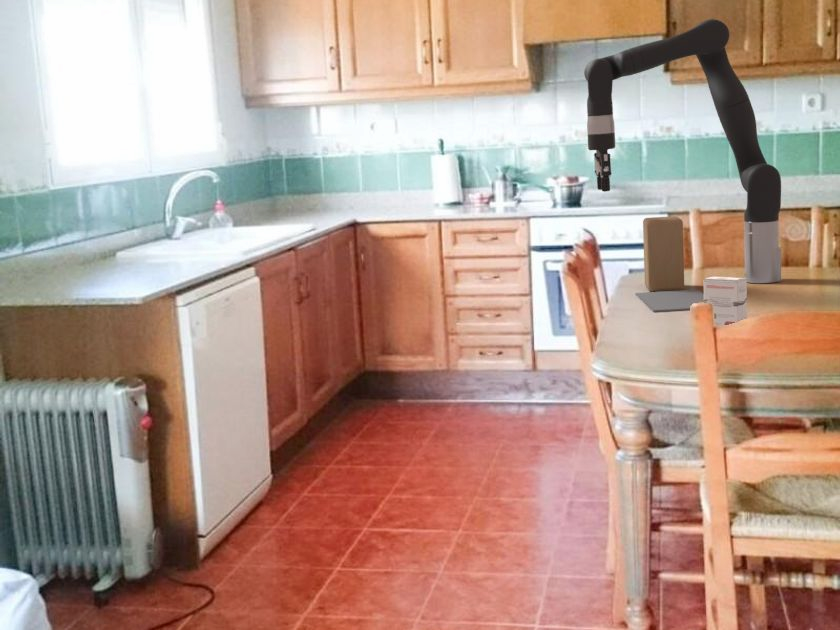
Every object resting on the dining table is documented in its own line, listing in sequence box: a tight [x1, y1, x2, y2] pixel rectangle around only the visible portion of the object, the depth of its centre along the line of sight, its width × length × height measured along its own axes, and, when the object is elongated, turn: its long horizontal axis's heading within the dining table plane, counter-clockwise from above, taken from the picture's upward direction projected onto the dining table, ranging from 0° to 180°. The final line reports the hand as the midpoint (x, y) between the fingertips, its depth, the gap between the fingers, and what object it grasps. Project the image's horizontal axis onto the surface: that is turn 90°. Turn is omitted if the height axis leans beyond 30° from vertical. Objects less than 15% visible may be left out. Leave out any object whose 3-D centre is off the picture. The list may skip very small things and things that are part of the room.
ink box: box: [703, 276, 748, 326], centre depth 239 cm, size 9×5×12 cm, turn 48°
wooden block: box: [642, 215, 685, 292], centre depth 298 cm, size 10×10×20 cm
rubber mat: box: [634, 288, 704, 313], centre depth 279 cm, size 17×27×1 cm, turn 178°
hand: (603, 190), depth 297 cm, fingers open, 8 cm apart
